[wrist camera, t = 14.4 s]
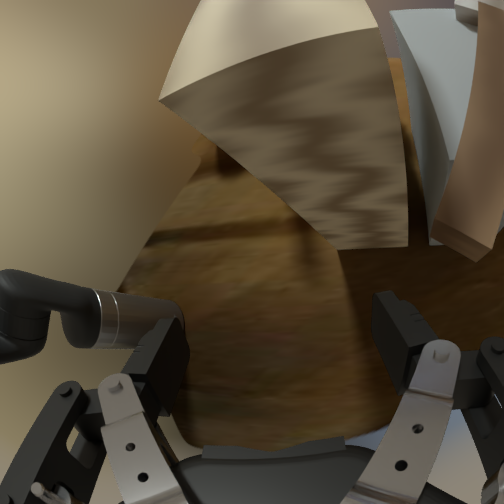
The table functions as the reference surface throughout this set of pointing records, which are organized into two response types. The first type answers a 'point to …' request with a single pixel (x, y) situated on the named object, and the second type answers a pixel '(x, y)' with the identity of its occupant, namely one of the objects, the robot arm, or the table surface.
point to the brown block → (478, 143)
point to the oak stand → (300, 109)
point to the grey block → (436, 91)
